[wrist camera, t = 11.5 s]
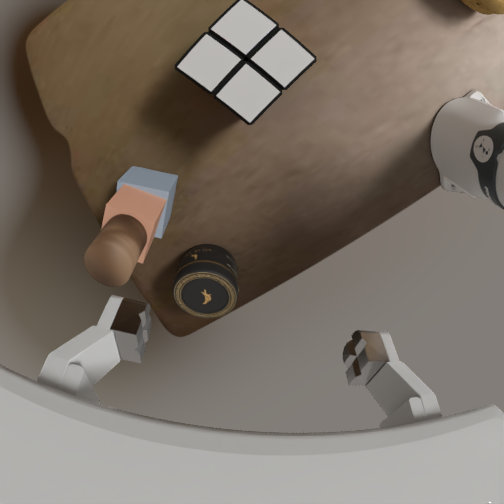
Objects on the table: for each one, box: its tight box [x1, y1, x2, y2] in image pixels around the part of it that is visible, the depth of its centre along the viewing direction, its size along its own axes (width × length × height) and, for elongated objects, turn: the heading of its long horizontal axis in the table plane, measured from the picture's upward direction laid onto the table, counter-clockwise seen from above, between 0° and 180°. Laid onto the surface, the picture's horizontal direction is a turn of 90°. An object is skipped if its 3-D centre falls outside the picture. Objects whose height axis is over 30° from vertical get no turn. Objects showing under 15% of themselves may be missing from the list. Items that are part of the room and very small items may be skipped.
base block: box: [117, 166, 178, 238], centre depth 39 cm, size 7×7×6 cm
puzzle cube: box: [175, 0, 316, 125], centre depth 27 cm, size 10×10×10 cm
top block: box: [101, 184, 167, 263], centre depth 34 cm, size 6×6×6 cm
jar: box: [173, 244, 239, 318], centre depth 46 cm, size 10×10×8 cm
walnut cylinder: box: [84, 214, 147, 287], centre depth 29 cm, size 5×5×6 cm
